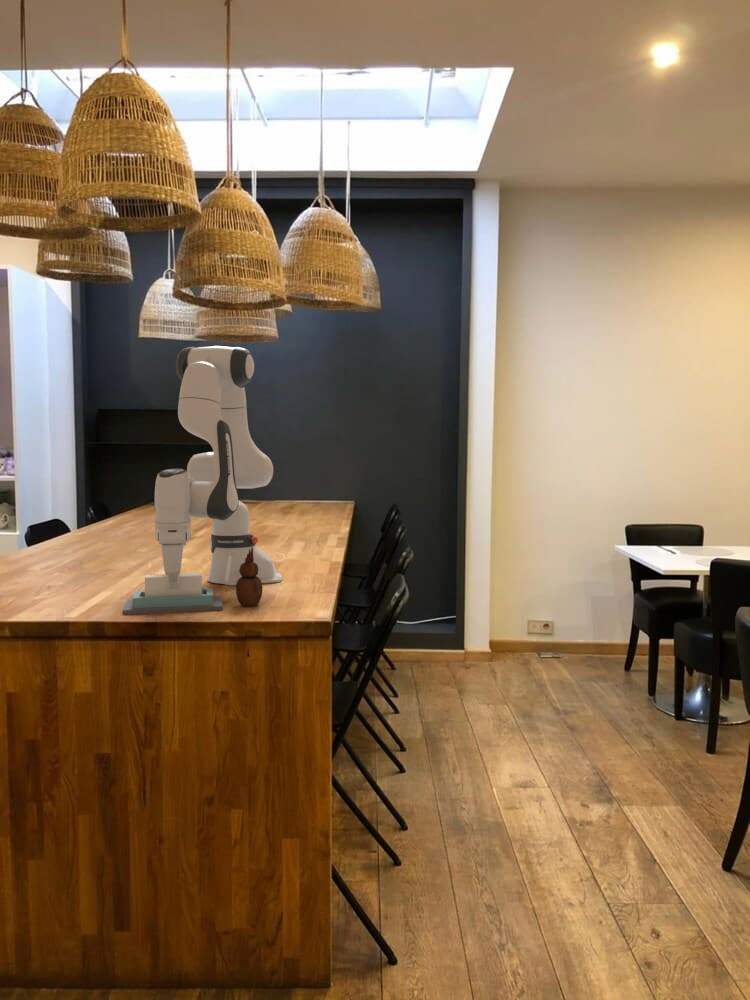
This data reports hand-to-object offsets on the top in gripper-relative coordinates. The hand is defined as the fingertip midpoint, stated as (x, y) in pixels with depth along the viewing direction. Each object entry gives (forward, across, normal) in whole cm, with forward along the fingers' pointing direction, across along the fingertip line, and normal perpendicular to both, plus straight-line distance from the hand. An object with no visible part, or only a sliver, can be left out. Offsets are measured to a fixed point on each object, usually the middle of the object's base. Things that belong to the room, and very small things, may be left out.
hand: (173, 586), depth 195 cm
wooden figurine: (+6, +2, +19) cm, 20 cm away
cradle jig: (+5, 0, 0) cm, 5 cm away
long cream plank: (+2, 0, 0) cm, 2 cm away
